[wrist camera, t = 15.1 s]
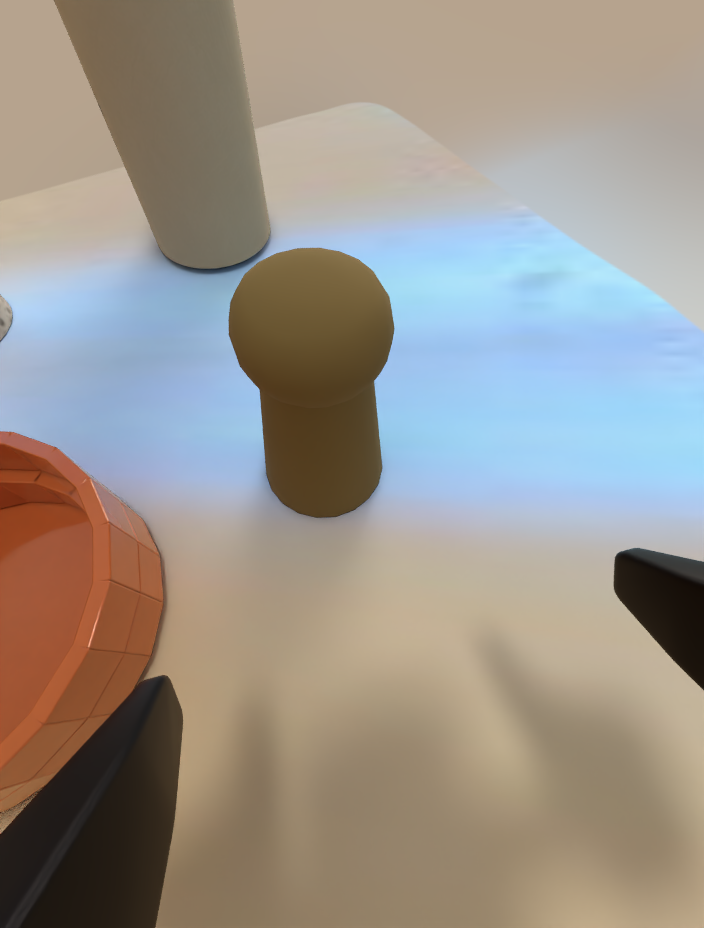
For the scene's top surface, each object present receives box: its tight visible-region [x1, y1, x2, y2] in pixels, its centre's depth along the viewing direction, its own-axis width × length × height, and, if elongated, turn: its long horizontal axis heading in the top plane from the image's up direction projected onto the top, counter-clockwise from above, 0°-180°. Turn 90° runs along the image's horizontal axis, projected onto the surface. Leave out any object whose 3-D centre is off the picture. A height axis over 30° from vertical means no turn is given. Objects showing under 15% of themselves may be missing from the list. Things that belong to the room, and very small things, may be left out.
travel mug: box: [54, 0, 270, 269], centre depth 22 cm, size 8×8×18 cm
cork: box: [229, 248, 394, 517], centre depth 16 cm, size 6×6×11 cm
